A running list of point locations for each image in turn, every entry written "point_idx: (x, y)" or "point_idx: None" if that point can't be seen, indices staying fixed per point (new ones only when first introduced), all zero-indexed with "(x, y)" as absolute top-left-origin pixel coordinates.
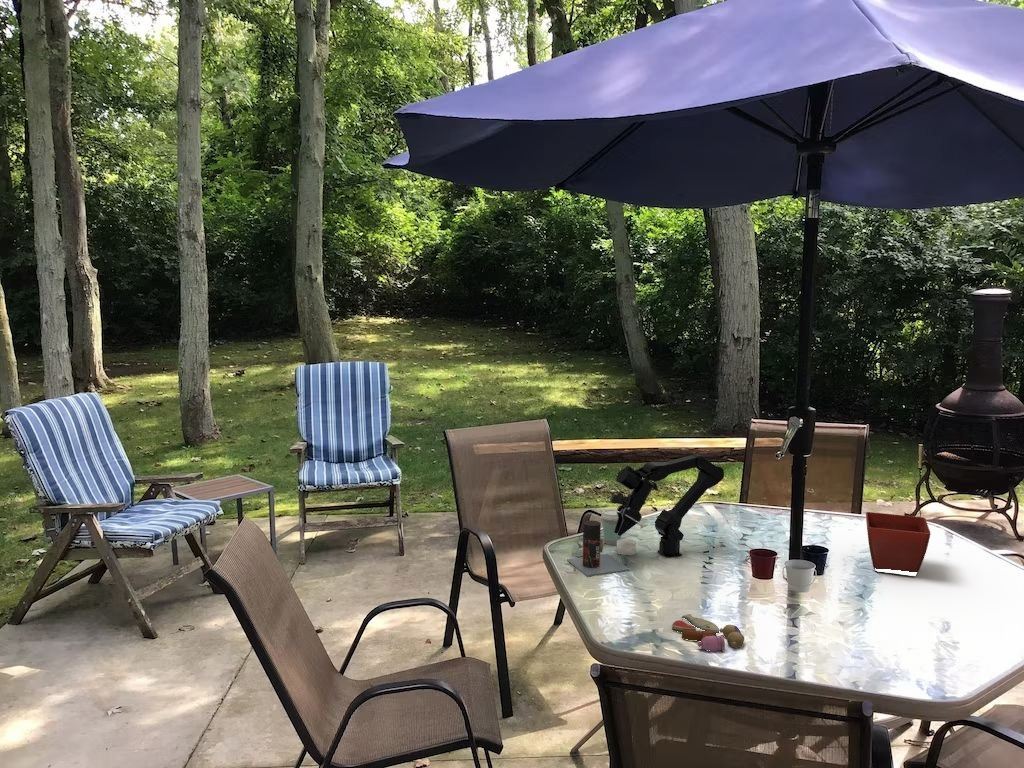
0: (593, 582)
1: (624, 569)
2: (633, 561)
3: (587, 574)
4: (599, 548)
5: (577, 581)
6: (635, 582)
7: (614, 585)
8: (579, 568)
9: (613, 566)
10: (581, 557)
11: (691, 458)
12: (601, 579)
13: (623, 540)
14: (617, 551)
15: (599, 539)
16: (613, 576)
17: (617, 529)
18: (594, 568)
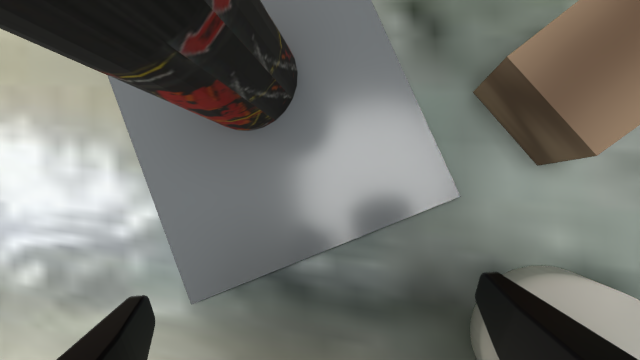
0: (42, 93)
1: (185, 273)
2: (355, 354)
3: None
4: (155, 95)
5: None
6: (46, 307)
7: (10, 195)
8: None
9: (230, 213)
10: (376, 17)
11: None
12: (78, 134)
13: (635, 354)
14: (521, 271)
15: (82, 63)
16: (117, 201)
17: (505, 329)
18: None
